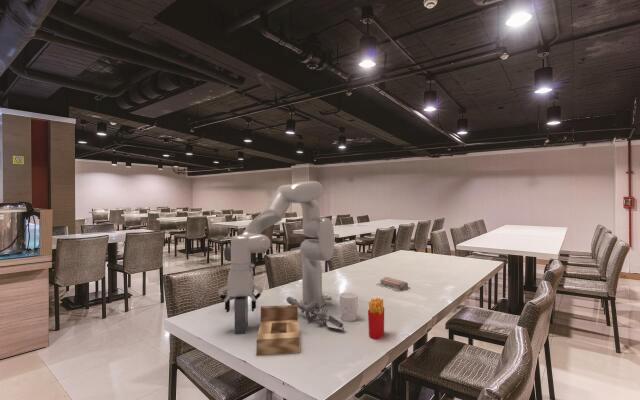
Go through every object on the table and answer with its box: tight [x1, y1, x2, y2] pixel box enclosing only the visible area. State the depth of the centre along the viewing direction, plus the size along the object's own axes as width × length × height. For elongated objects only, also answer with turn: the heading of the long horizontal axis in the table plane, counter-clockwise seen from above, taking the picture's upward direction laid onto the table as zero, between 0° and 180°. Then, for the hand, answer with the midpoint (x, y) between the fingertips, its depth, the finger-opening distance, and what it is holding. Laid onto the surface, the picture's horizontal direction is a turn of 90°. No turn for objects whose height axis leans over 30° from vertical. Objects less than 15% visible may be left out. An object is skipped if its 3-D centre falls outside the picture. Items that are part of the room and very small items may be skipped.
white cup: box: [338, 291, 359, 322], centre depth 134 cm, size 8×8×10 cm
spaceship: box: [286, 296, 346, 330], centre depth 132 cm, size 8×35×8 cm
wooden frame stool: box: [256, 304, 301, 356], centre depth 112 cm, size 14×18×10 cm
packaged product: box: [376, 276, 411, 293], centre depth 182 cm, size 18×5×10 cm
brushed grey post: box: [233, 297, 249, 335], centre depth 123 cm, size 4×8×13 cm, turn 6°
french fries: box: [367, 297, 385, 340], centre depth 117 cm, size 9×4×13 cm, turn 145°
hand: (240, 310), depth 123 cm, fingers open, 9 cm apart
